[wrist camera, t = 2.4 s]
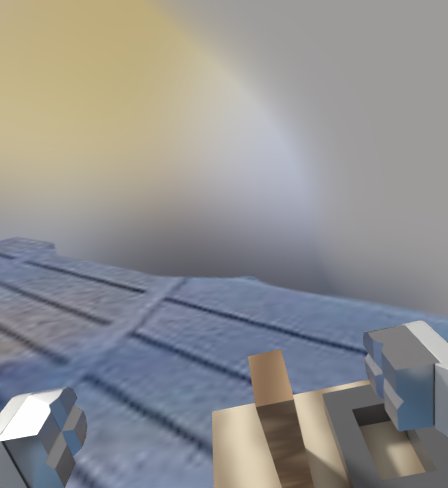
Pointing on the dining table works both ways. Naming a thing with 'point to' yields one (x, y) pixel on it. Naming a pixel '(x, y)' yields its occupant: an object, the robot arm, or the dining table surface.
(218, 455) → the birch board
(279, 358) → the walnut slat
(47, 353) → the dining table surface
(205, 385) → the dining table surface
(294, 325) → the dining table surface
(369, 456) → the rectangular frame
